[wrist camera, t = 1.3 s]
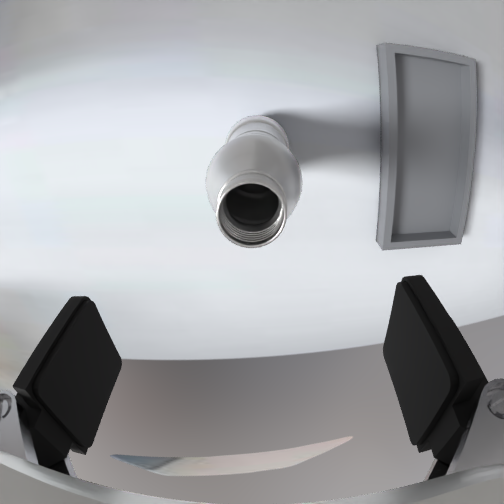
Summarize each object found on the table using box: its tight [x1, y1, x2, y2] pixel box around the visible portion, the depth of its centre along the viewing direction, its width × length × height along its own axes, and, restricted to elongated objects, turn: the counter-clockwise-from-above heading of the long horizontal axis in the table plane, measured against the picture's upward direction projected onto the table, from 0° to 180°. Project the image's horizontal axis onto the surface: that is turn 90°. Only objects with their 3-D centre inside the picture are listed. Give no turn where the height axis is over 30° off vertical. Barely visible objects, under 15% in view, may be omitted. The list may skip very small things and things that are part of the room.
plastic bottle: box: [206, 115, 302, 248], centre depth 24 cm, size 6×7×20 cm
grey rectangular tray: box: [376, 43, 477, 250], centre depth 31 cm, size 24×12×3 cm, turn 6°
